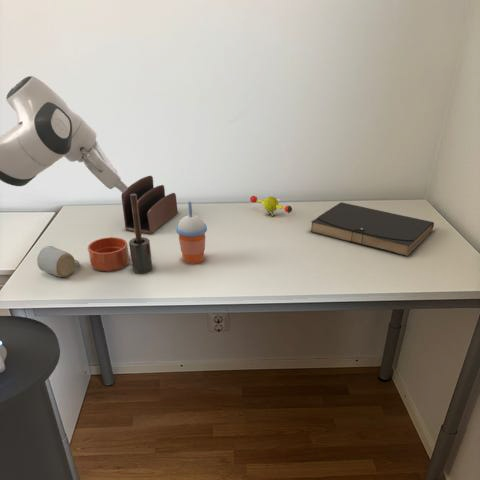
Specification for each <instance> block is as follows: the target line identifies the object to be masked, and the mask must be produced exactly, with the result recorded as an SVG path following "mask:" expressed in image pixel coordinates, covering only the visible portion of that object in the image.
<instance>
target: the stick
mask: <svg viewBox="0 0 480 480" xmlns="http://www.w3.org/2000/svg"><path fill="white" fill-rule="evenodd" d="M130 197H131V205H132V212H133V220H134V227H135V232H134V233H135V238H136V242H137V244H141V243H142V237H143V236H142V233H141V228H140V220H139V212H138V204H137V196H136V194H130Z"/></svg>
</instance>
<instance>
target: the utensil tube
mask: <svg viewBox="0 0 480 480" xmlns="http://www.w3.org/2000/svg"><path fill="white" fill-rule="evenodd" d="M128 245H129V246H128V247H129V253H130V259H131V267H132V271H133V273H135V274H137V275H146V274H149V273H151V272H153V270H154V269H153V267H154V266H153V257H152V250H151V240H150V239H149V238H148V237H145V236H142V243H141V244H137V242H136V237H134V238H131V239H130V240H129V241H128Z"/></svg>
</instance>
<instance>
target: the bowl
mask: <svg viewBox="0 0 480 480" xmlns="http://www.w3.org/2000/svg"><path fill="white" fill-rule="evenodd" d="M128 245H129V244H128V242H127V240H125V239H123V238H121V237H115V236H111V237H110V236H109V237H102V238H99V239H95V240H93V241H92V242H90V243H89V244H88V245H87V251H88V257H89V263H90V266H91V268H93V269H95V270H97V271H100V272H114V271H118V270H120V269H122V268H124V267H126V266H127V265H128V264H129V263H130V254H129V253H130V251H129V246H128Z"/></svg>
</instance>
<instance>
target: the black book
mask: <svg viewBox="0 0 480 480" xmlns="http://www.w3.org/2000/svg"><path fill="white" fill-rule="evenodd" d="M310 223H311V225H310V233H313V234H318V235H321V236H325V237H330V238H333V239H337V240H341V241H344V242H349V243H351V244H352V243H353V244H357V245H361V246H364V247H367V248H368V247H369V248H373V249H376V250H381V251H384V252H388V253H393V254H397V255H401V256H405V257H409V255H410V254H411V253H412V252H413V251H414V250H415V249H417V247H418V246H419V245H420V244H421V243H422V242H423V241H424V240H425V239H426V238H427V237H428V236H429V235H430V234H431V233H432V231H433V229H434V226H435V222H434V221H429V220H425V219H422V218H416V217H412V216H406V215H403V214H397V213H394V212H393V213H392V212H389V211H384V210H379V209H374V208H370V207H364V206H360V205H356V204H351V203H347V202H343V201H342V202H341V201H340V202H339V203H338V204H336V205H333V206H332V207H331V208H330V209H328V210H326V211H324V212H323V213H321V214H320V215H318V216H317V217H316V218H315V219H313V220H311V221H310Z"/></svg>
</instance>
